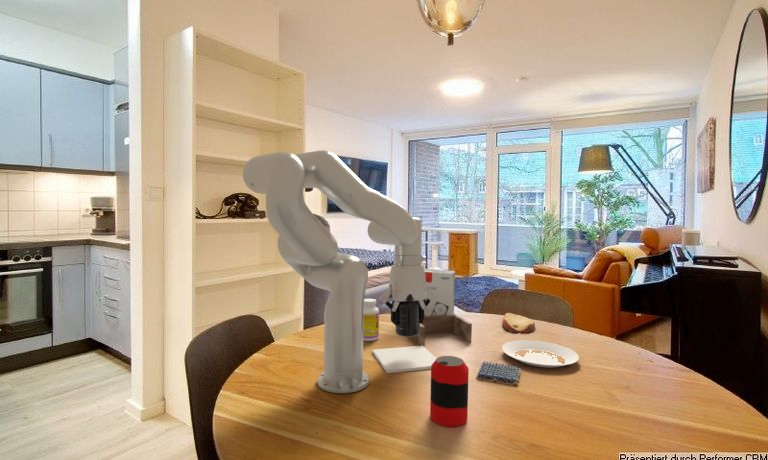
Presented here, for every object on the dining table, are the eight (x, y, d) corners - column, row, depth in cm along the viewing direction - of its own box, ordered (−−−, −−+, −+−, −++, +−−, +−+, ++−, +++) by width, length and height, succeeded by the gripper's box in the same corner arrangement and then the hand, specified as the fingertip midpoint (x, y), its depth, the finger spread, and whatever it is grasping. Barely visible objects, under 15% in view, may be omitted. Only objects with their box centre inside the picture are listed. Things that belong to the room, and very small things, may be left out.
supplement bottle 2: (404, 328, 121) (405, 288, 120) (424, 333, 116) (424, 291, 116) (390, 334, 115) (390, 292, 115) (410, 339, 111) (410, 295, 110)
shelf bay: (471, 341, 133) (471, 323, 132) (421, 345, 128) (421, 327, 128) (455, 330, 144) (455, 314, 144) (408, 334, 140) (408, 317, 139)
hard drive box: (410, 323, 153) (411, 270, 152) (414, 318, 161) (415, 268, 160) (451, 327, 149) (452, 273, 148) (454, 321, 156) (455, 270, 155)
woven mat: (521, 372, 109) (521, 365, 109) (518, 388, 99) (518, 380, 99) (481, 366, 113) (482, 359, 113) (475, 381, 103) (475, 373, 103)
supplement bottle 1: (378, 342, 131) (378, 302, 131) (357, 341, 131) (358, 302, 131) (379, 335, 138) (379, 298, 137) (359, 335, 138) (359, 297, 137)
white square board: (443, 367, 111) (443, 364, 111) (387, 373, 106) (387, 370, 106) (422, 348, 126) (422, 345, 126) (372, 352, 122) (372, 349, 122)
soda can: (422, 417, 84) (423, 360, 83) (444, 405, 89) (446, 351, 89) (452, 432, 78) (454, 371, 78) (474, 418, 84) (476, 361, 83)
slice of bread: (511, 317, 165) (511, 308, 165) (551, 328, 150) (551, 318, 150) (480, 323, 155) (480, 314, 155) (519, 336, 140) (519, 325, 140)
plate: (503, 368, 111) (503, 360, 111) (500, 344, 131) (500, 337, 131) (586, 377, 106) (587, 368, 106) (570, 350, 126) (570, 343, 126)
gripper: (431, 258, 121) (431, 317, 122) (374, 260, 116) (374, 321, 117) (441, 261, 113) (441, 324, 114) (381, 263, 109) (381, 329, 110)
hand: (407, 322), depth 116 cm, fingers closed on supplement bottle 2, 6 cm apart
